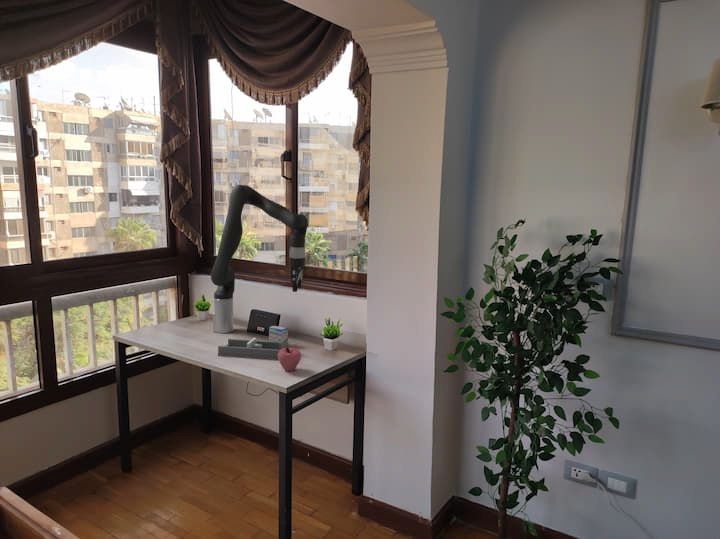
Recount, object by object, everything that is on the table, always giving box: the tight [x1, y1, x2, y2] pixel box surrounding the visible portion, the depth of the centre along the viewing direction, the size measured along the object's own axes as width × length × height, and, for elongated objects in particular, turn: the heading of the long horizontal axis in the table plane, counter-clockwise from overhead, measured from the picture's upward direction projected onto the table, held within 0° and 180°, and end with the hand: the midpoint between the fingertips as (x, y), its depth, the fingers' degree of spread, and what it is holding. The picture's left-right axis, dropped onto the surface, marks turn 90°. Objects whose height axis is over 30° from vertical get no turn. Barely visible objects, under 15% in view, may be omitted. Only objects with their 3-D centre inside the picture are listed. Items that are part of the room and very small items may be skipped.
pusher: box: [247, 337, 262, 348], centre depth 234 cm, size 5×9×4 cm, turn 172°
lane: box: [217, 336, 289, 361], centre depth 234 cm, size 28×13×7 cm, turn 82°
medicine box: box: [268, 325, 289, 342], centre depth 247 cm, size 8×4×9 cm, turn 62°
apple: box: [278, 347, 302, 372], centre depth 214 cm, size 10×9×10 cm
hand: (296, 289), depth 254 cm, fingers open, 8 cm apart
